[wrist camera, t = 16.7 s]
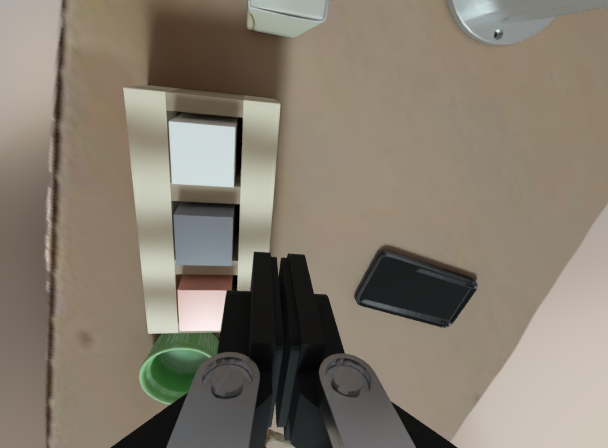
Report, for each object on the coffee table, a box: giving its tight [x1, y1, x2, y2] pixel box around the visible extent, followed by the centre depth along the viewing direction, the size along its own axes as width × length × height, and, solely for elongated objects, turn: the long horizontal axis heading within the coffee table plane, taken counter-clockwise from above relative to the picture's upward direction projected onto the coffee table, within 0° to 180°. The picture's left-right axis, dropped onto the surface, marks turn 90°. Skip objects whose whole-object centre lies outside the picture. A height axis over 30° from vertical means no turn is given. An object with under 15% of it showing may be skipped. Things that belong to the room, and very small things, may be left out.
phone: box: [354, 250, 477, 328], centre depth 42 cm, size 8×1×15 cm
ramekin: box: [139, 333, 219, 405], centre depth 39 cm, size 9×9×4 cm
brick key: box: [177, 274, 233, 331], centre depth 32 cm, size 4×4×6 cm
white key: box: [169, 113, 238, 187], centre depth 27 cm, size 4×4×6 cm
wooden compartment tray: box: [124, 85, 281, 334], centre depth 31 cm, size 22×11×6 cm, turn 174°
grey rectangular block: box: [174, 201, 235, 266], centre depth 29 cm, size 4×4×6 cm
